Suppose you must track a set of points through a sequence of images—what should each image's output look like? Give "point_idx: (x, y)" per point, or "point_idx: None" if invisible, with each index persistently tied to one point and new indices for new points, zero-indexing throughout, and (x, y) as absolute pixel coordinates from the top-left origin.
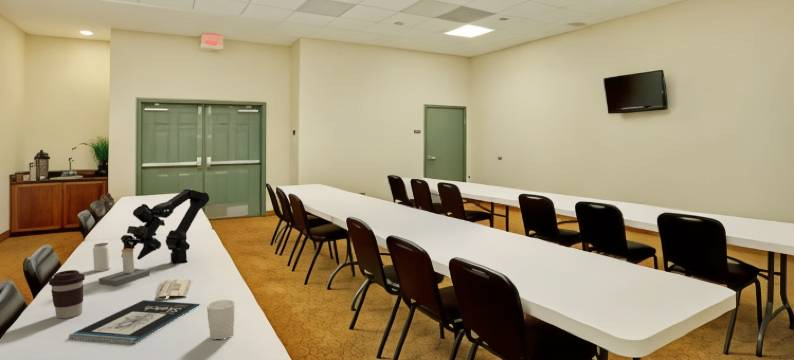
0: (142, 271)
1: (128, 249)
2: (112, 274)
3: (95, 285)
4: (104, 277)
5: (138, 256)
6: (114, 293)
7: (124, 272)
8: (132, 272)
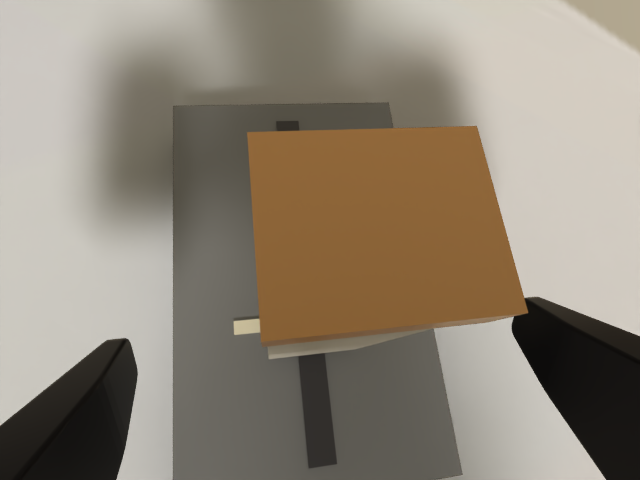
0: (210, 437)
1: (312, 204)
2: None
3: None
4: None
5: (91, 362)
6: (49, 36)
7: None
8: None
